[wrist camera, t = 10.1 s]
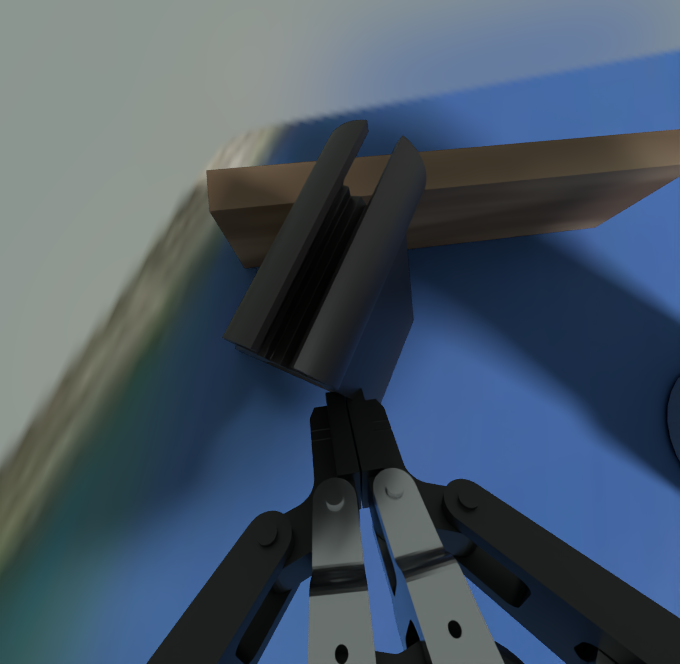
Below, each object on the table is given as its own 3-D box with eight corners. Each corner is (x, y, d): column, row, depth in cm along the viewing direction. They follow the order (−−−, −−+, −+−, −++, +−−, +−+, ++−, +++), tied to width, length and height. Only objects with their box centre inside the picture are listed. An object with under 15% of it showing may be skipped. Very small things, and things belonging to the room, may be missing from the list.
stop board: (595, 227, 21) (702, 162, 15) (244, 268, 19) (209, 211, 13) (586, 202, 21) (687, 128, 15) (241, 239, 19) (206, 170, 13)
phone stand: (412, 322, 19) (565, 203, 7) (375, 413, 17) (484, 457, 6) (281, 263, 19) (213, 53, 7) (236, 349, 18) (64, 265, 6)
